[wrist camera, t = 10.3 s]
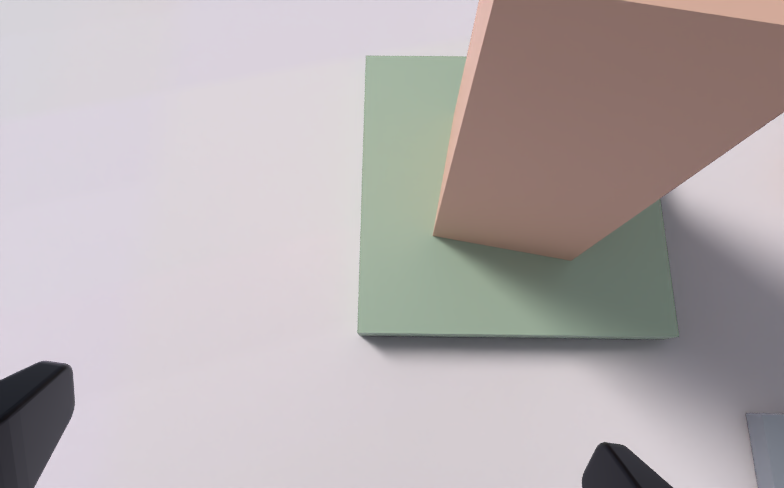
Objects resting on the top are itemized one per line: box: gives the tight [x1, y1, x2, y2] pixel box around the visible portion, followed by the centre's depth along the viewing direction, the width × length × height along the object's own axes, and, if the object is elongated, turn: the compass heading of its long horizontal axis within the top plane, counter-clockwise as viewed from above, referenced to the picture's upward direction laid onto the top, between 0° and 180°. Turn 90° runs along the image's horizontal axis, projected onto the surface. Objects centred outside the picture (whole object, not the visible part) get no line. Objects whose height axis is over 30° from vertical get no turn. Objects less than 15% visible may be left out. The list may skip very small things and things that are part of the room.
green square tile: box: [357, 56, 679, 339], centre depth 19 cm, size 11×11×1 cm
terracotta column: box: [433, 0, 784, 261], centre depth 13 cm, size 5×5×12 cm
